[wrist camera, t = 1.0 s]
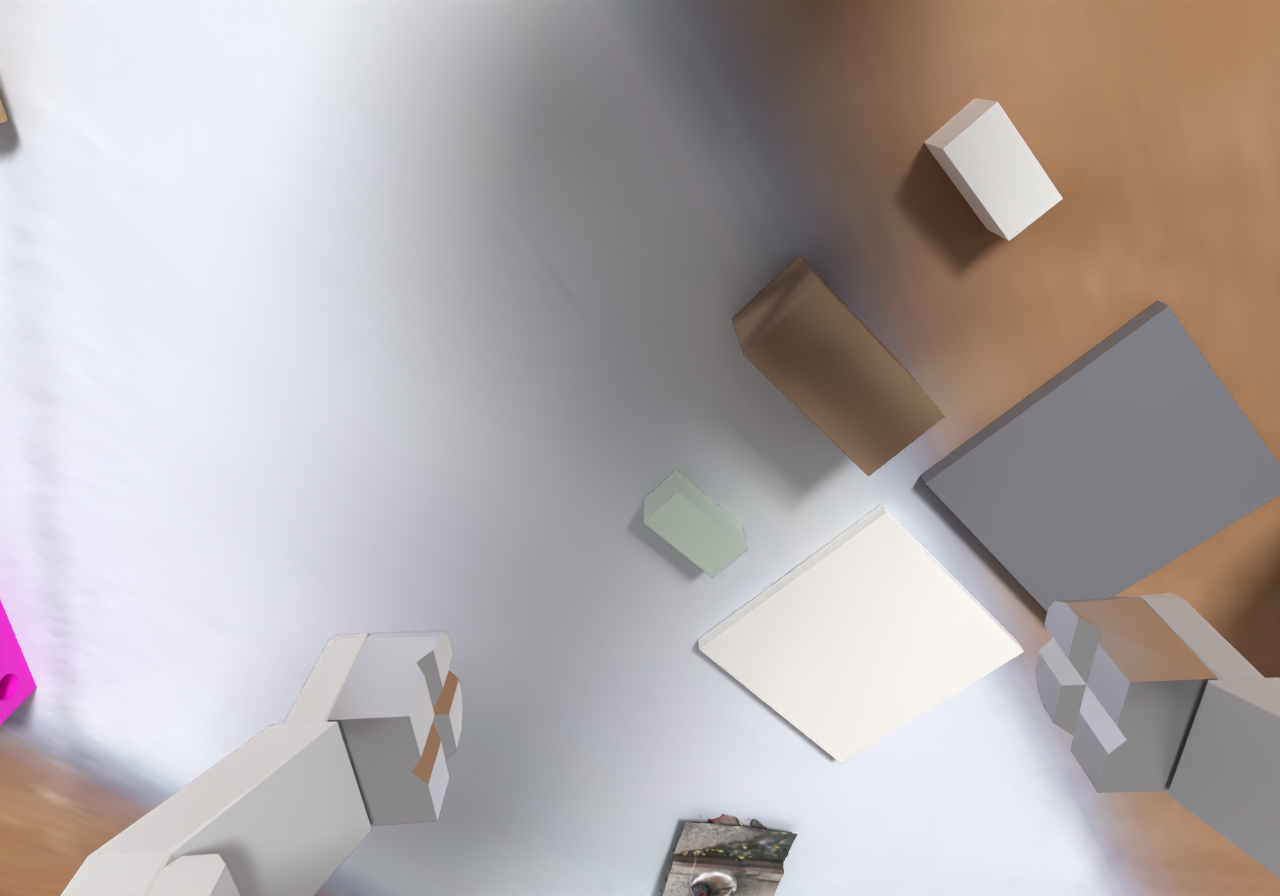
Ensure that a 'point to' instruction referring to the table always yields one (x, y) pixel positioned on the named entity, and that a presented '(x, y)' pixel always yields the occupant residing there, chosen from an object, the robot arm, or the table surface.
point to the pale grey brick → (993, 168)
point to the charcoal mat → (1110, 466)
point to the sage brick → (694, 524)
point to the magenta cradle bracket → (12, 670)
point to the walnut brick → (833, 367)
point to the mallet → (2, 114)
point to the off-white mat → (860, 638)
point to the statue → (727, 859)
